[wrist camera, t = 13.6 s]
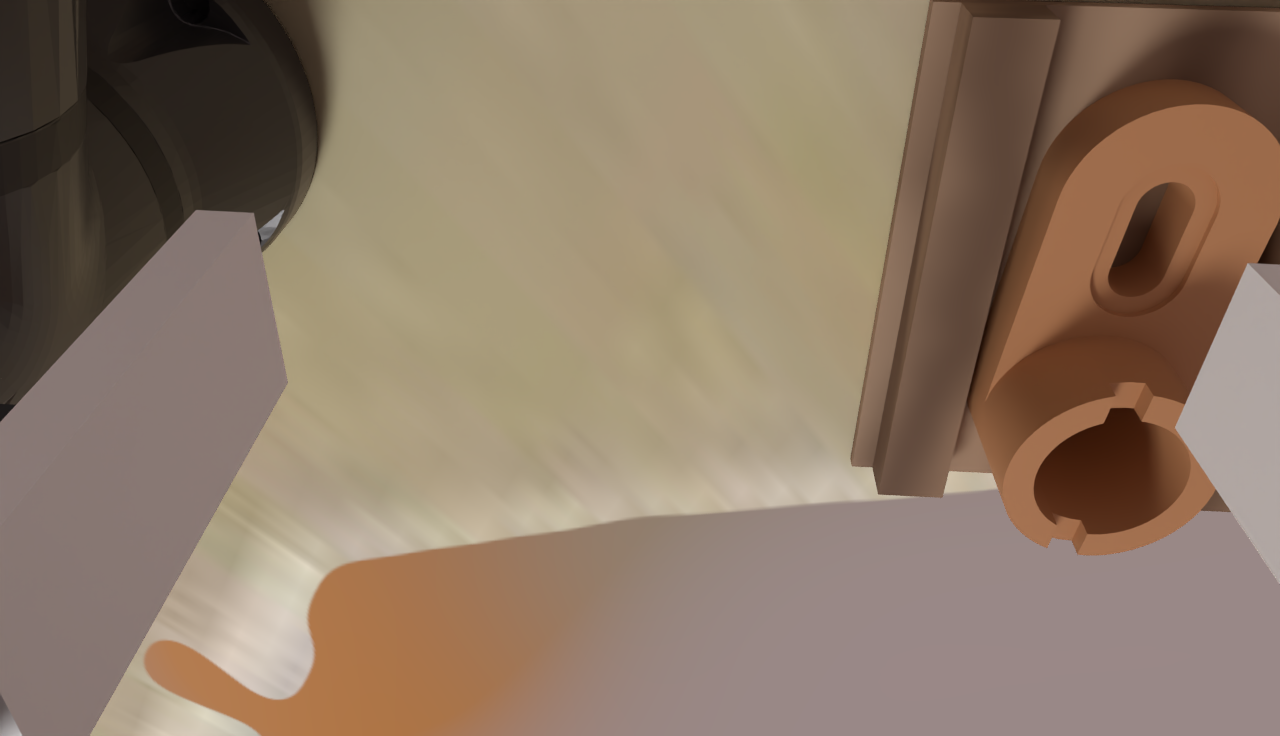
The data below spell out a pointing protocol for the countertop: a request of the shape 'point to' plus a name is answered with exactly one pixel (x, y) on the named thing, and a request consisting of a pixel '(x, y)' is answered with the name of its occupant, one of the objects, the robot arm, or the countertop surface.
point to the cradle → (1013, 190)
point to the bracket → (1119, 313)
